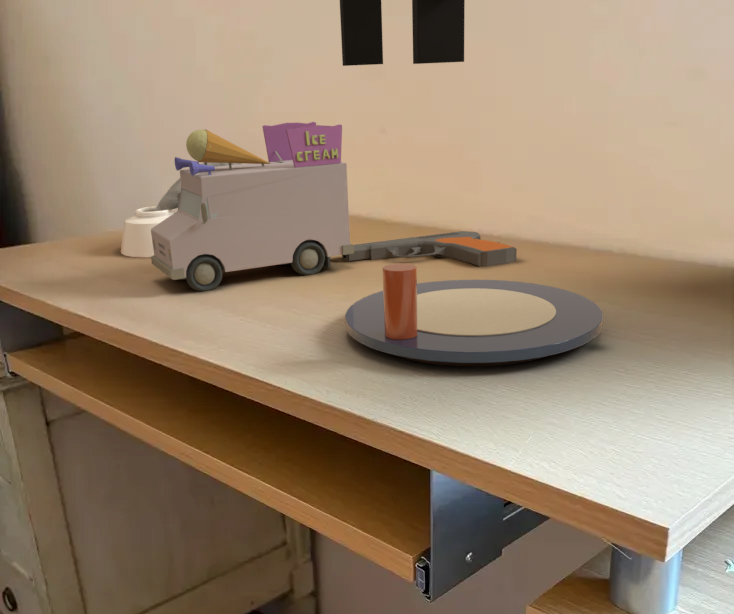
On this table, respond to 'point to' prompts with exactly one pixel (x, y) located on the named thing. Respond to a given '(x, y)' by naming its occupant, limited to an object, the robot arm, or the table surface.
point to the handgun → (438, 249)
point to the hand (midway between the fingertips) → (396, 64)
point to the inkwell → (151, 221)
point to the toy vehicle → (257, 206)
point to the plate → (470, 319)
